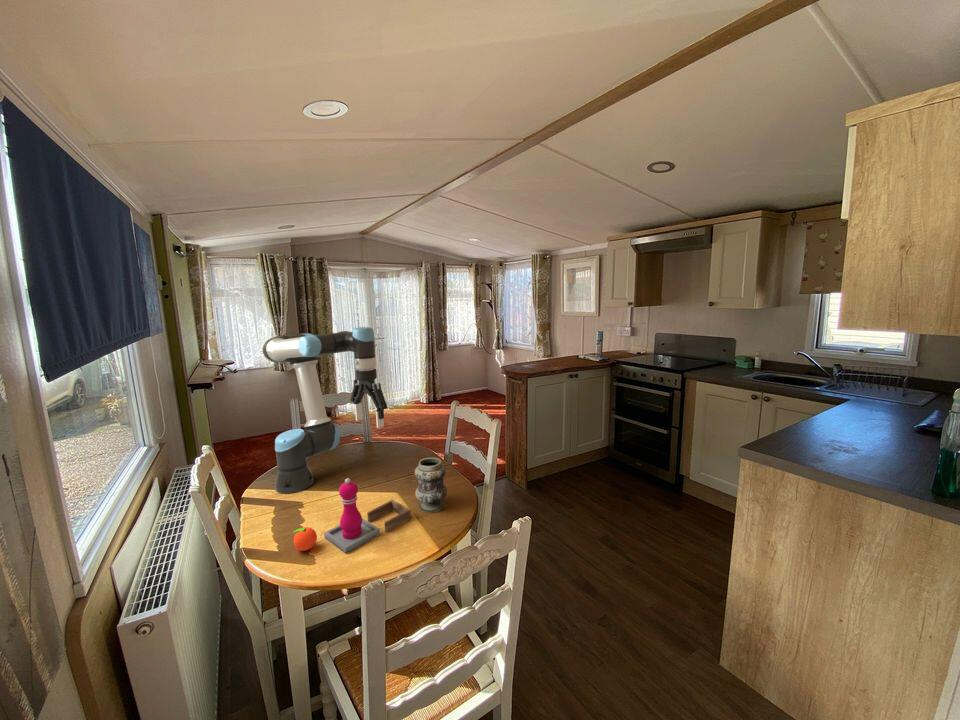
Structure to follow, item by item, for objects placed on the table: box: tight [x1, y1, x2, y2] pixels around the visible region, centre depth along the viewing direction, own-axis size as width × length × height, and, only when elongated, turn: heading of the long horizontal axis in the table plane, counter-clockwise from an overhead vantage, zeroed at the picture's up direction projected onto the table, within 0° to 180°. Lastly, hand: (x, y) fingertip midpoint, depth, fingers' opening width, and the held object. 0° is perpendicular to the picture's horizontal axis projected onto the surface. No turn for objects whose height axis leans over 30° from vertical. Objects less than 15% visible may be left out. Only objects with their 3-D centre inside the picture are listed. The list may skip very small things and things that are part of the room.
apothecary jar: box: [414, 457, 448, 514], centre depth 151 cm, size 12×12×18 cm
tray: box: [323, 517, 381, 554], centre depth 134 cm, size 13×13×2 cm
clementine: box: [290, 526, 318, 552], centre depth 128 cm, size 8×7×7 cm
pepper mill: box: [338, 477, 363, 539], centre depth 133 cm, size 7×7×20 cm
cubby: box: [366, 499, 412, 533], centre depth 144 cm, size 11×11×4 cm
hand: (369, 423), depth 152 cm, fingers open, 13 cm apart
